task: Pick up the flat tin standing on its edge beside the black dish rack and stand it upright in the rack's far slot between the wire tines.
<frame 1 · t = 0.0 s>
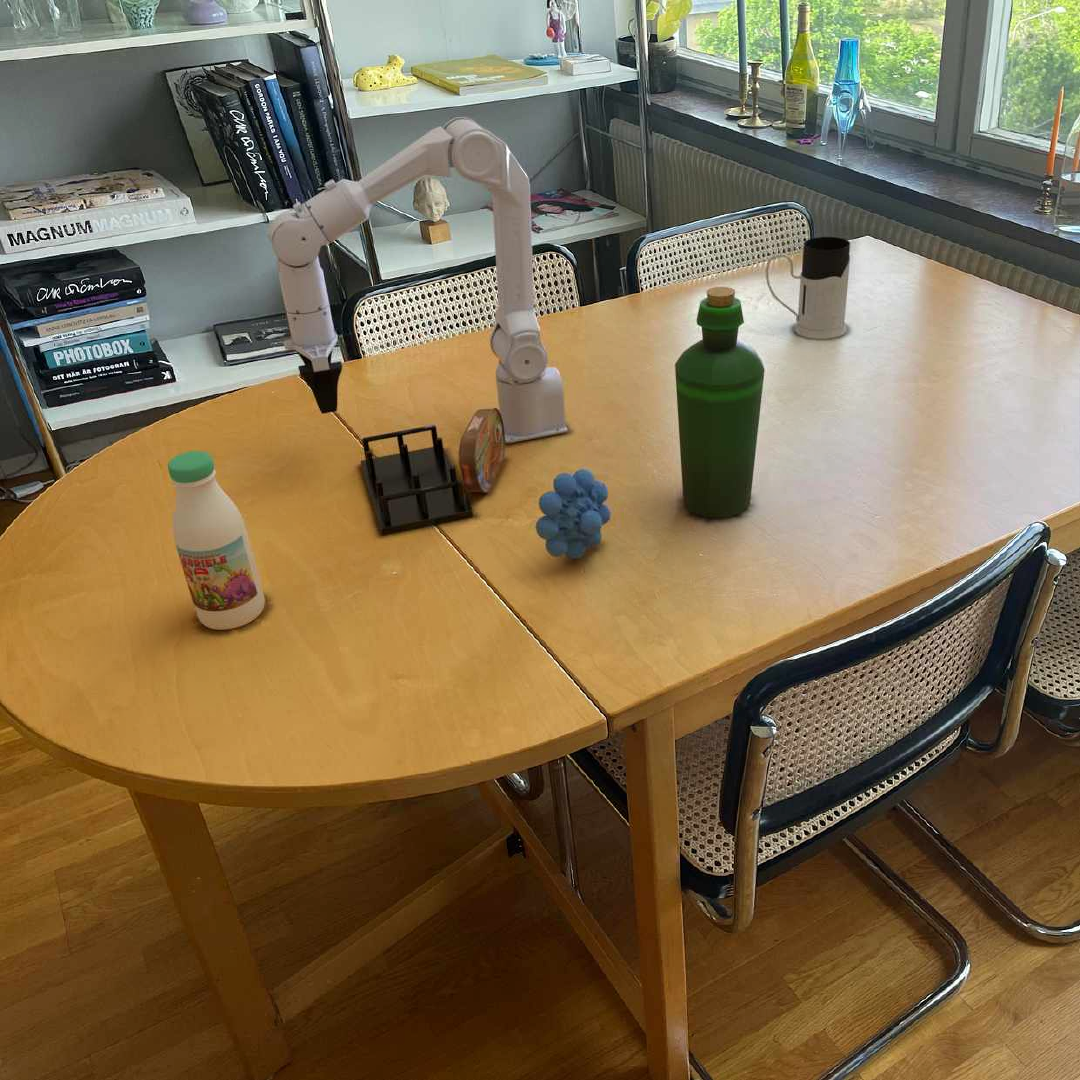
hand: (326, 400, 144), 10 cm above the table, tool pointing down, fingers open, 7 cm apart
rack: (414, 490, 141), on the table
grapes: (582, 561, 124), on the table
bottle: (716, 504, 133), on the table
milk bottle: (233, 613, 120), on the table
tin: (485, 477, 143), on the table
glass holder: (804, 331, 180), on the table
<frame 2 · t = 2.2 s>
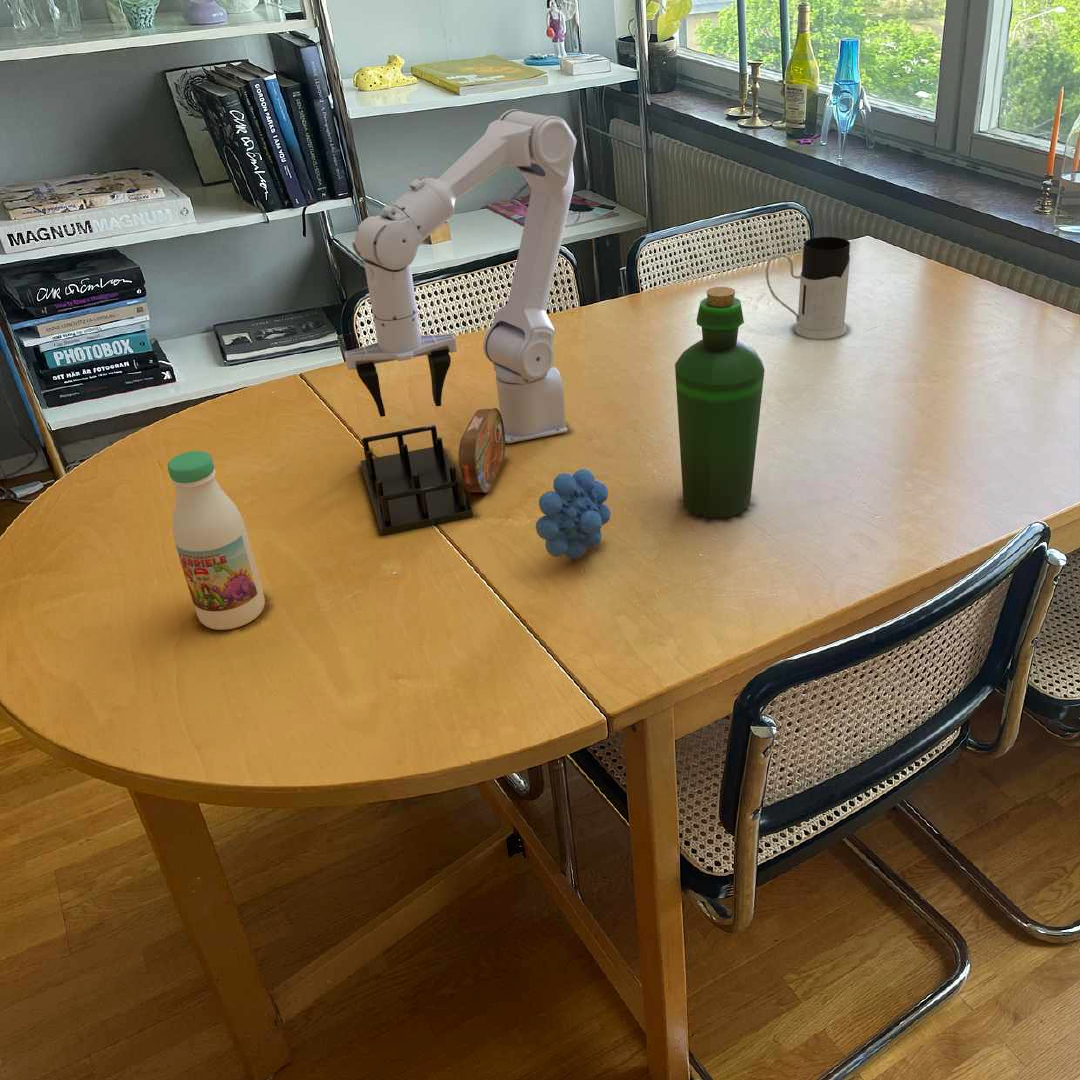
hand: (409, 408, 141), 10 cm above the table, tool pointing down, fingers open, 7 cm apart
nothing on the table moved.
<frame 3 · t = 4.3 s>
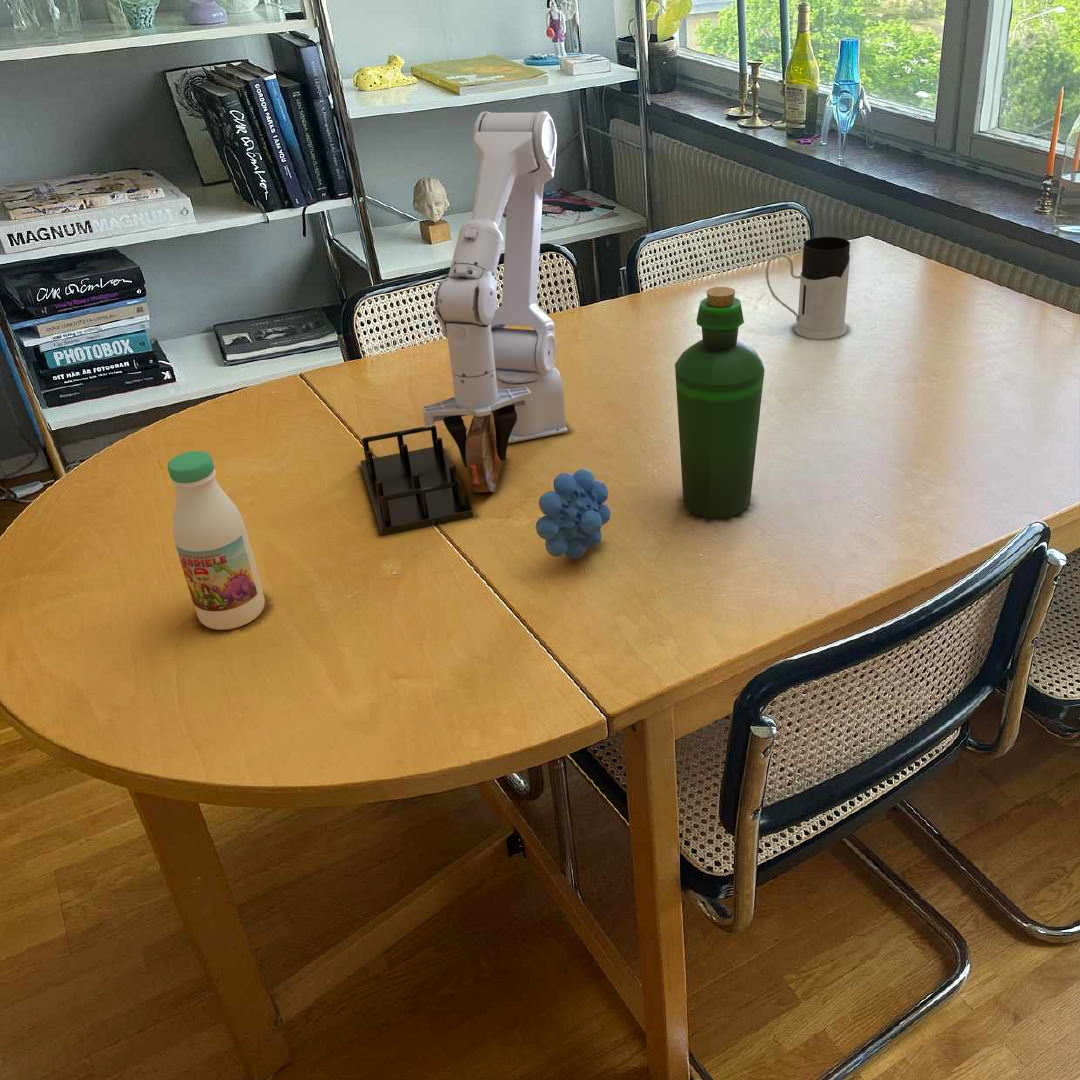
hand: (483, 461, 142), 2 cm above the table, tool pointing down, fingers closed on tin, 4 cm apart
tin: (487, 477, 143), on the table, touching gripper
everything else where it was.
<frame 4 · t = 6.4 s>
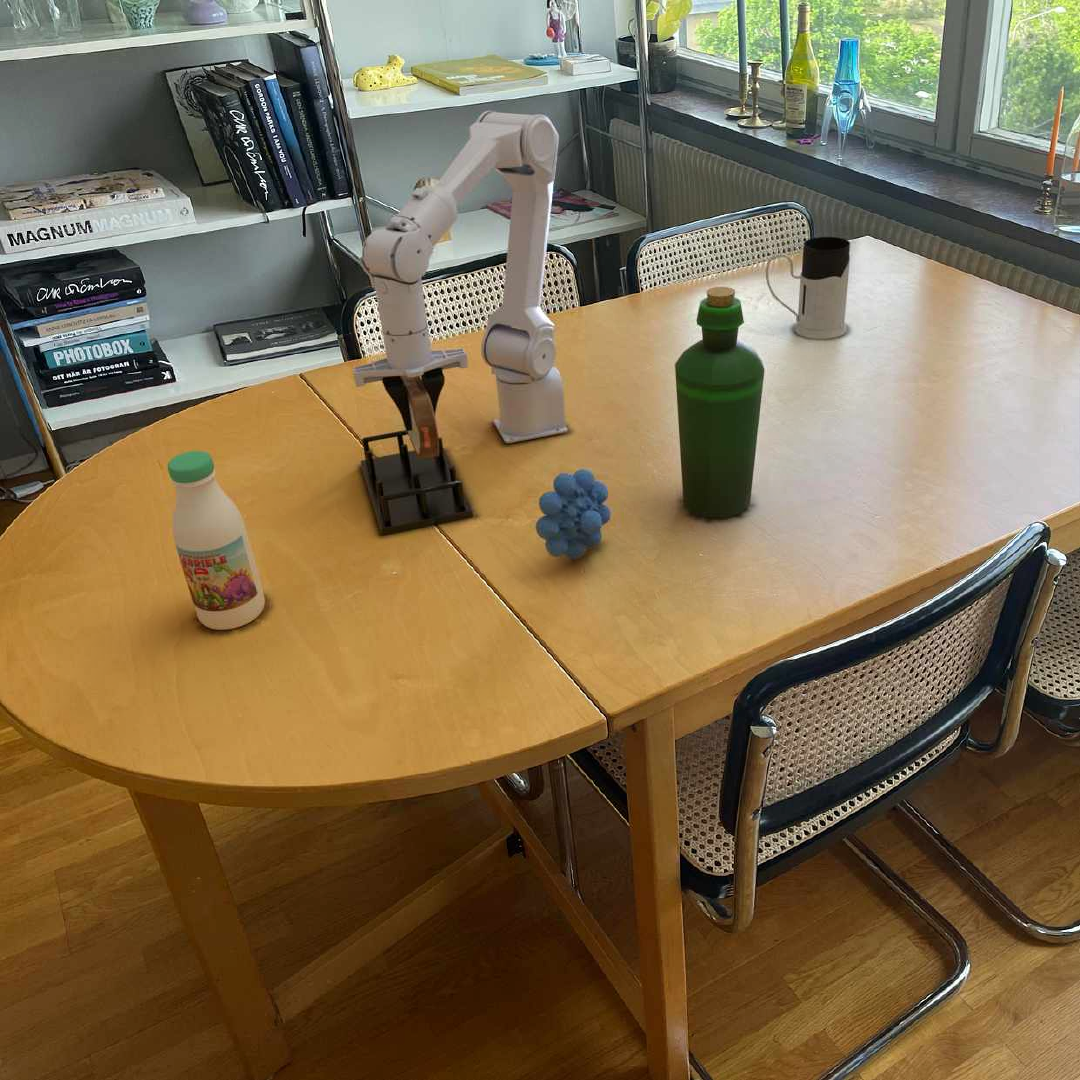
hand: (419, 425, 136), 9 cm above the table, tool pointing down, fingers closed on tin, 2 cm apart
tin: (419, 445, 138), point 7 cm above the table, touching gripper
everything else where it was.
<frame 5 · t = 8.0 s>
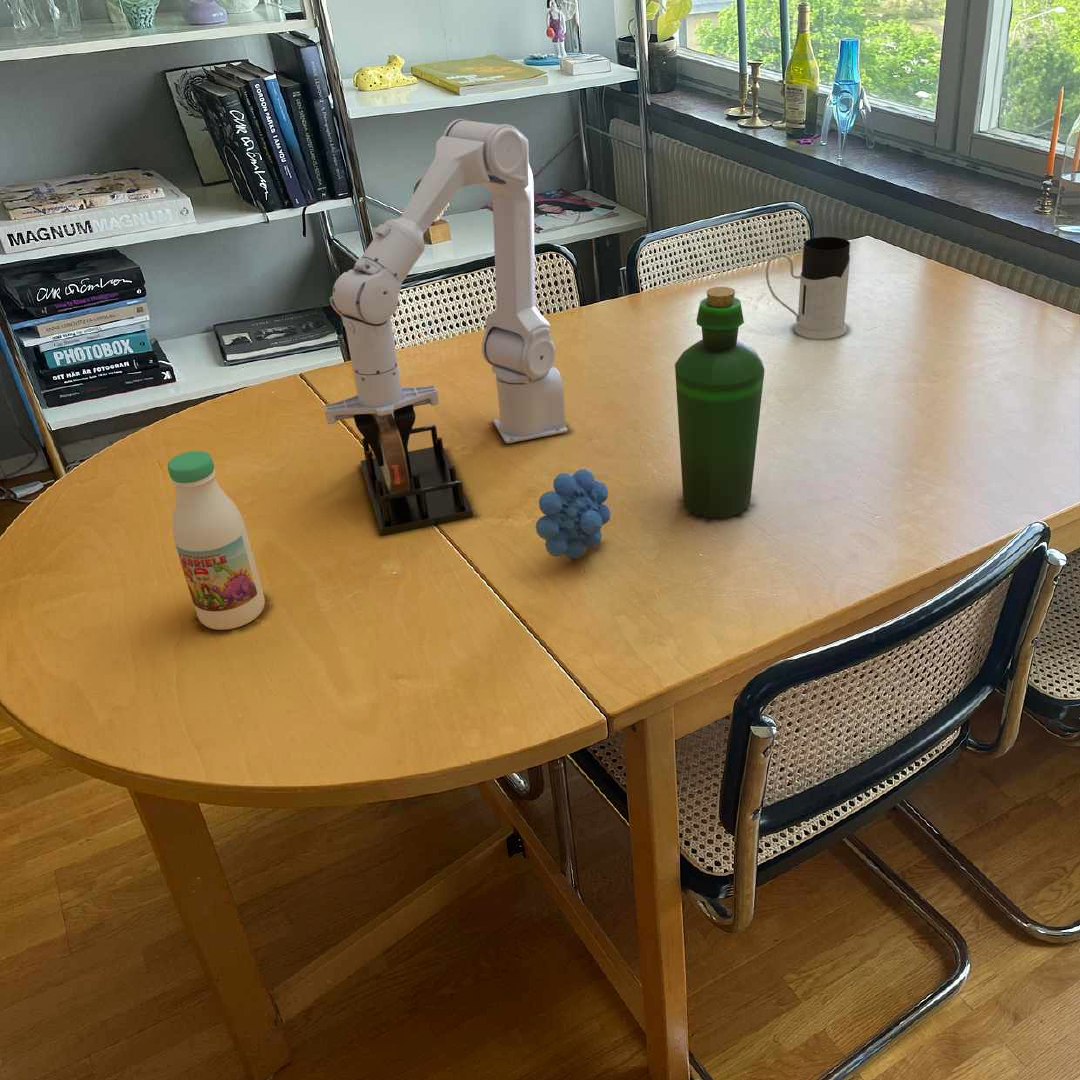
hand: (391, 461, 138), 5 cm above the table, tool pointing down, fingers closed on tin, 2 cm apart
tin: (391, 480, 139), point 2 cm above the table, touching gripper
everything else where it was.
when the fingers open (4 cm above the table, at t = 8.8 s): tin stays where it is, resting on rack.
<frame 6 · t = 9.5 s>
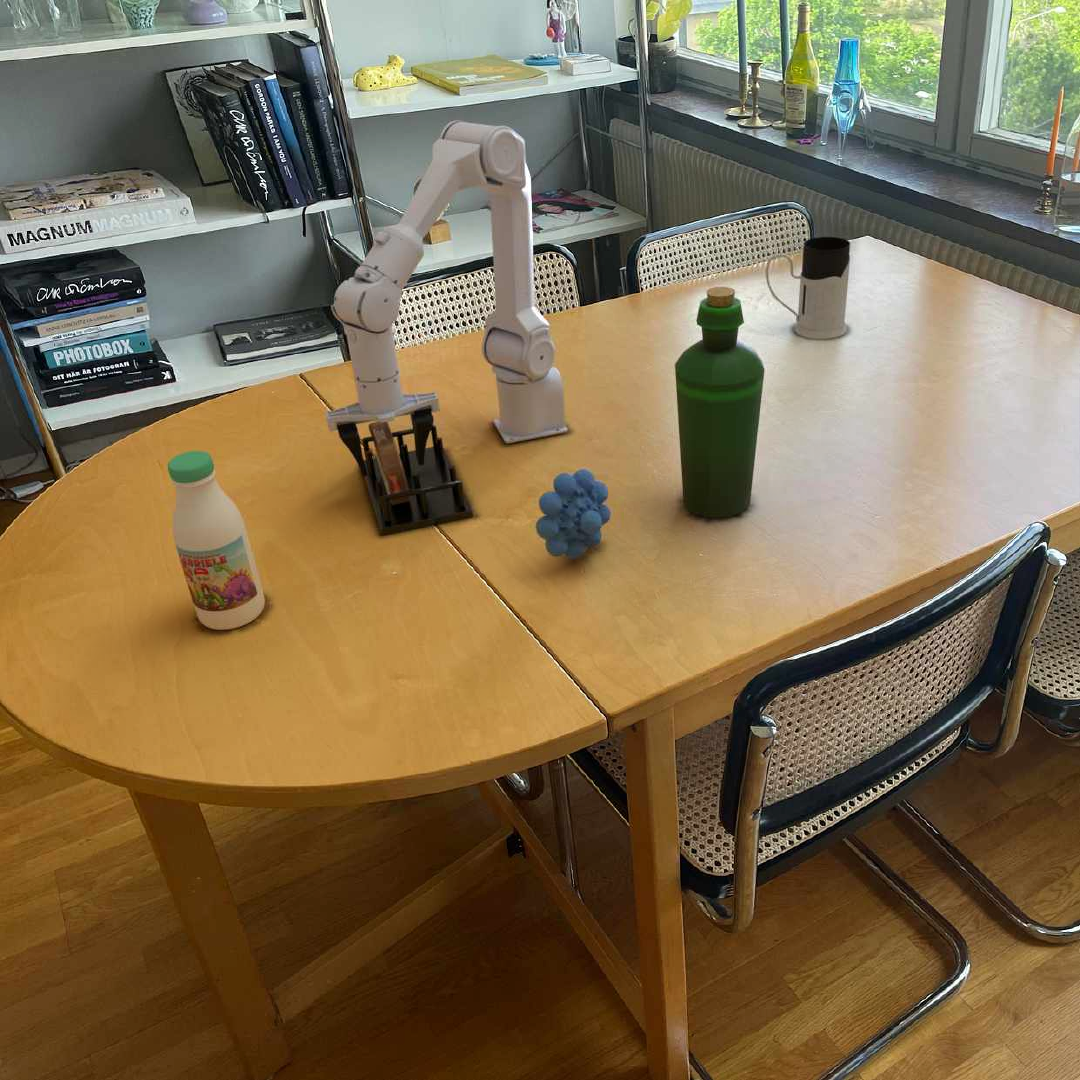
hand: (392, 467, 139), 4 cm above the table, tool pointing down, fingers open, 7 cm apart
tin: (393, 489, 140), point 1 cm above the table, touching rack
everything else where it was.
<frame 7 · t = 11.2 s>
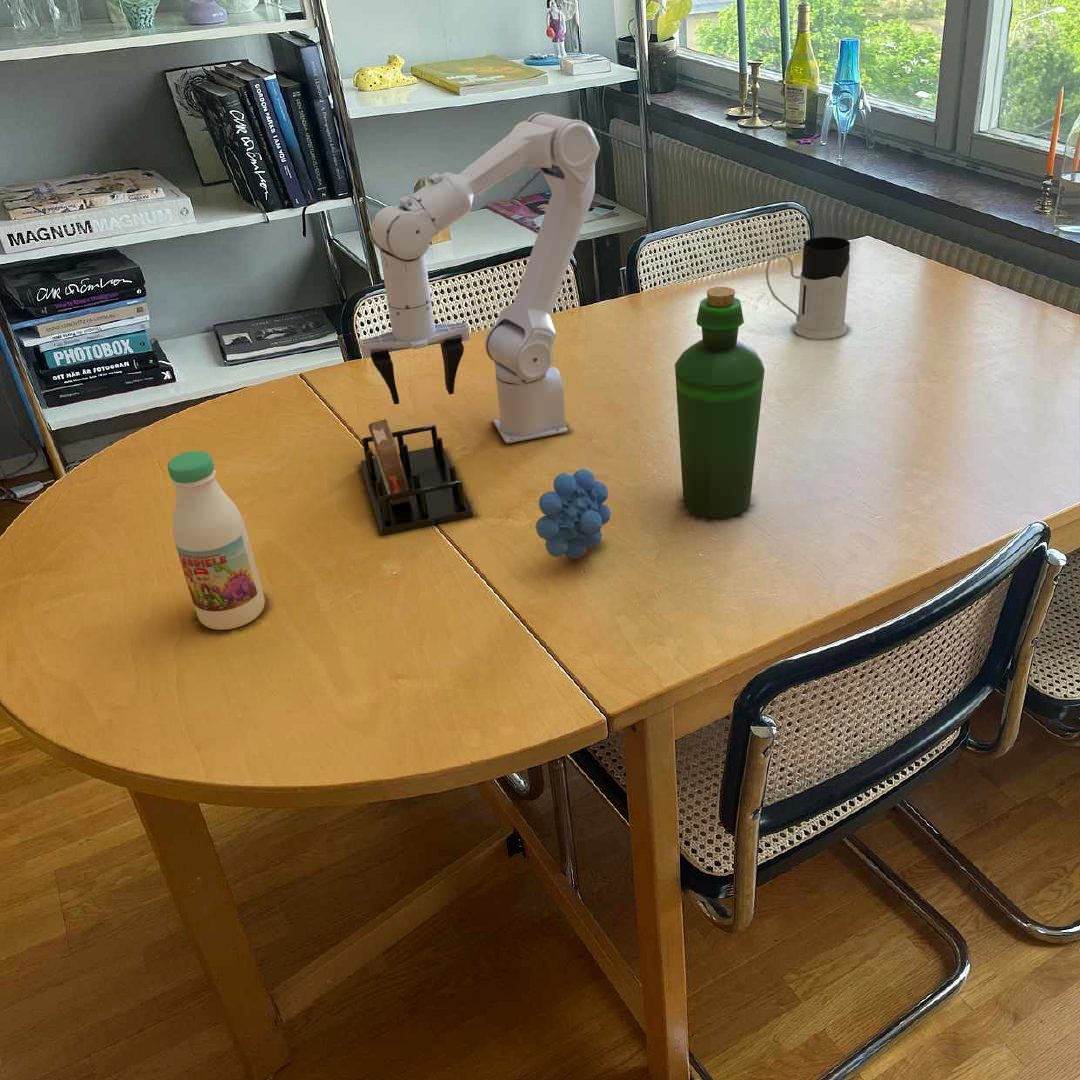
hand: (423, 396, 143), 10 cm above the table, tool pointing down, fingers open, 7 cm apart
nothing on the table moved.
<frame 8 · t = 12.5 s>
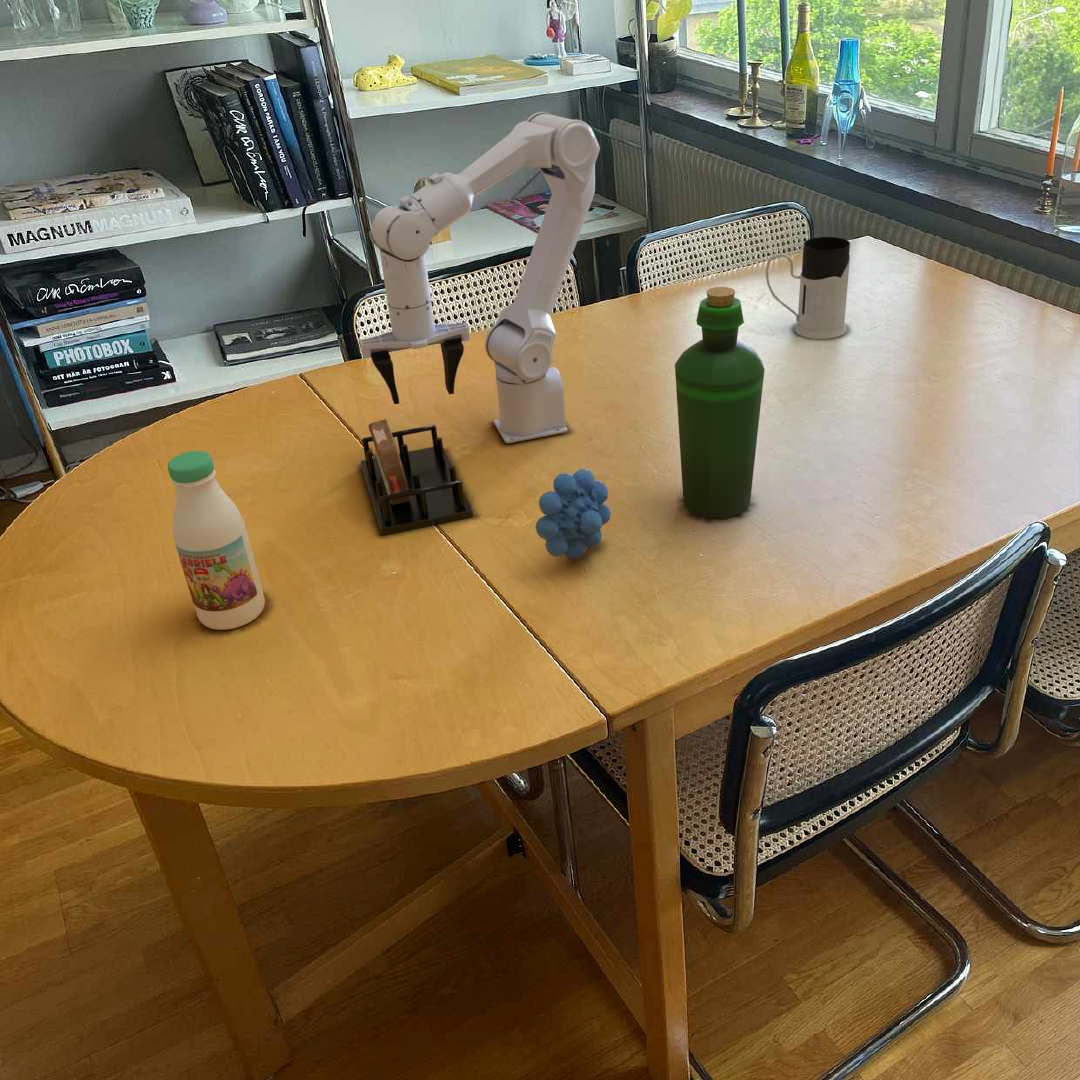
hand: (423, 396, 143), 10 cm above the table, tool pointing down, fingers open, 7 cm apart
nothing on the table moved.
at the end: tin 0.4 cm from the target spot on the rack, point 0.8 cm above the rack's base; tin tilted 0°; the gripper is holding nothing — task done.
